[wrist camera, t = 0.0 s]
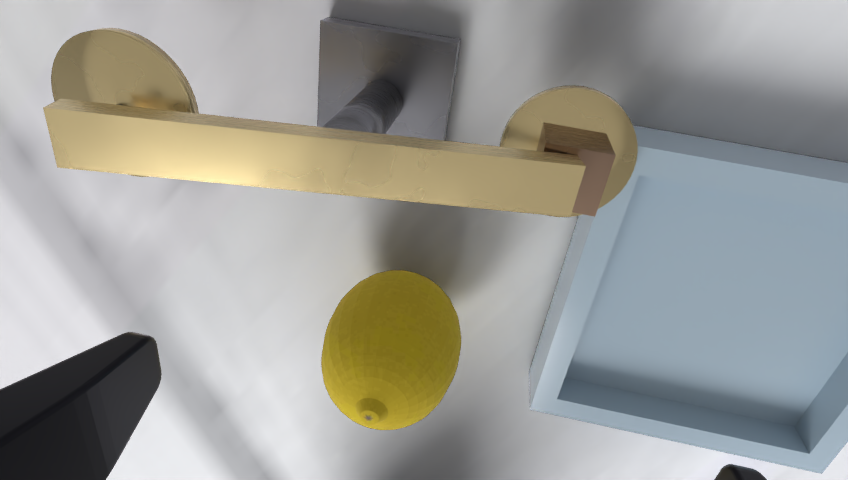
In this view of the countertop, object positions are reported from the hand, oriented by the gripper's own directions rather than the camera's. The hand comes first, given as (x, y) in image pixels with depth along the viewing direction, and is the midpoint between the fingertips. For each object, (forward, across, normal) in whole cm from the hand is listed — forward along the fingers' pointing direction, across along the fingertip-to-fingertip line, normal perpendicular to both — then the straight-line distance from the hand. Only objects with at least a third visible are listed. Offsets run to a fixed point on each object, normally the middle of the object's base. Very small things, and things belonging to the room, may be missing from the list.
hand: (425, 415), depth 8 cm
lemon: (+15, +2, +8) cm, 17 cm away
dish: (+15, -11, +5) cm, 19 cm away
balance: (+15, +4, -1) cm, 15 cm away
